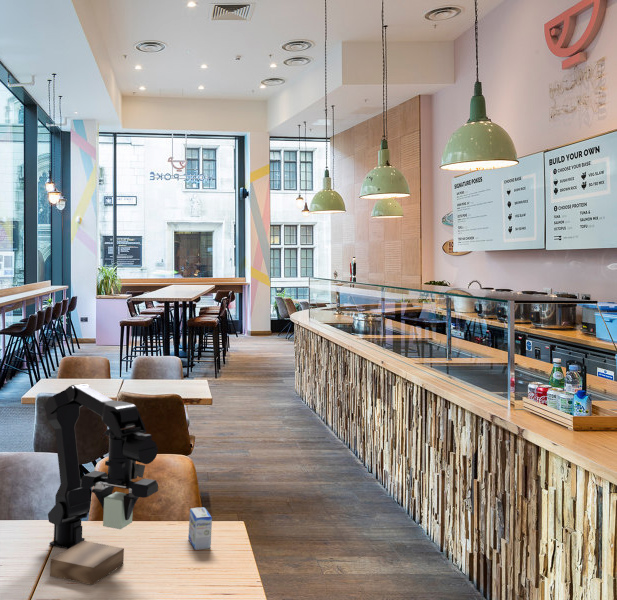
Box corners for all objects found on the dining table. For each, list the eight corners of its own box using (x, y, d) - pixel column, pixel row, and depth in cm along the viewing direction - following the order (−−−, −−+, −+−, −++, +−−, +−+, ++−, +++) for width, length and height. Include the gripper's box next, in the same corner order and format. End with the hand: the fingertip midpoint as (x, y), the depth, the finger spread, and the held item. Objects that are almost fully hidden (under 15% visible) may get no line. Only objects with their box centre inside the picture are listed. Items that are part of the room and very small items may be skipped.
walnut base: (50, 575, 150) (50, 558, 150) (83, 555, 162) (83, 540, 161) (92, 584, 146) (93, 567, 146) (123, 564, 158) (123, 548, 158)
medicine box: (188, 539, 175) (189, 508, 175) (204, 537, 177) (205, 506, 177) (194, 550, 168) (195, 518, 168) (211, 548, 170) (212, 516, 169)
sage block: (102, 526, 155) (104, 497, 155) (114, 519, 160) (116, 491, 160) (120, 529, 154) (121, 500, 154) (132, 522, 159) (133, 494, 158)
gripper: (170, 452, 162) (167, 513, 162) (107, 443, 167) (104, 502, 167) (147, 463, 151) (144, 528, 151) (80, 453, 156) (77, 516, 157)
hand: (117, 518), depth 157 cm, fingers closed on sage block, 5 cm apart
